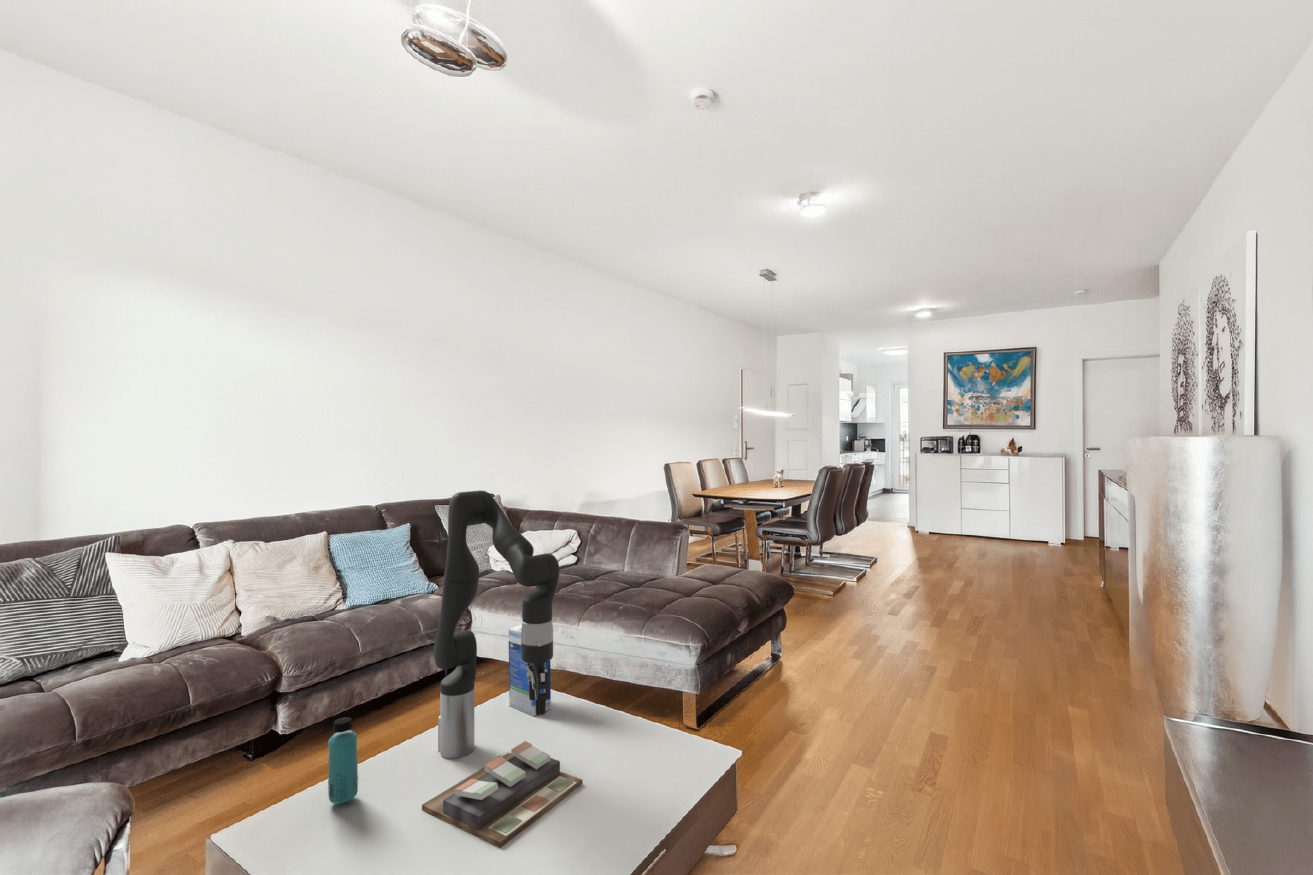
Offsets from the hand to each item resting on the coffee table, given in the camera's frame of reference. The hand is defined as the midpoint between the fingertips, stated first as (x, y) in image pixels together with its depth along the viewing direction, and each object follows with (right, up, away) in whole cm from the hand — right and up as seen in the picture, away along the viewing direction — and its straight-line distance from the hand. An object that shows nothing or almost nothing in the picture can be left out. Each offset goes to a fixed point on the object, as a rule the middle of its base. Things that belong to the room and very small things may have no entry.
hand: (537, 706), depth 142 cm
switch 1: (-13, -18, -3) cm, 22 cm away
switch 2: (-9, -18, +4) cm, 20 cm away
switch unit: (-9, -24, +4) cm, 26 cm away
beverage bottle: (-47, -24, +2) cm, 53 cm away
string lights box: (-13, -25, +54) cm, 61 cm away
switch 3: (-4, -18, +12) cm, 22 cm away
